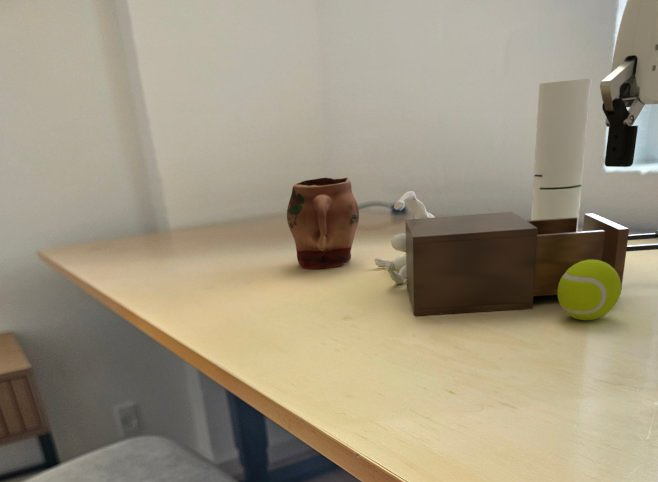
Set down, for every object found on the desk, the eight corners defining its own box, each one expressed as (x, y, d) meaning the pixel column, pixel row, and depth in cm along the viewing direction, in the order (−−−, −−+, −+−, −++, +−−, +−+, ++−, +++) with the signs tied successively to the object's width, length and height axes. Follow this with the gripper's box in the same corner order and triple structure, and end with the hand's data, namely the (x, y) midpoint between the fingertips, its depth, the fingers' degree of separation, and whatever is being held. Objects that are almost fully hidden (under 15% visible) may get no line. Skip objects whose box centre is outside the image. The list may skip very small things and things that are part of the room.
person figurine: (380, 196, 107) (397, 185, 90) (456, 208, 108) (487, 199, 91) (368, 278, 111) (382, 282, 94) (441, 288, 112) (469, 294, 95)
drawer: (651, 267, 92) (660, 208, 88) (694, 290, 80) (706, 223, 76) (490, 277, 93) (492, 220, 90) (508, 301, 82) (512, 237, 78)
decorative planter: (369, 273, 106) (365, 181, 100) (295, 281, 106) (286, 188, 99) (353, 252, 124) (348, 172, 118) (289, 258, 123) (281, 178, 117)
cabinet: (508, 281, 94) (512, 211, 90) (532, 308, 81) (538, 228, 77) (406, 288, 95) (405, 219, 91) (413, 316, 82) (412, 237, 78)
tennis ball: (551, 326, 74) (555, 266, 71) (559, 310, 80) (564, 253, 77) (614, 329, 72) (622, 267, 69) (619, 312, 77) (626, 254, 74)
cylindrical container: (556, 251, 110) (570, 81, 99) (584, 257, 104) (602, 77, 93) (519, 256, 109) (529, 84, 97) (546, 263, 102) (559, 81, 91)
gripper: (689, -11, 73) (663, 156, 81) (584, -16, 66) (567, 169, 74) (759, -25, 68) (723, 156, 75) (652, -32, 60) (625, 170, 68)
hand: (646, 162), depth 74 cm, fingers open, 9 cm apart
